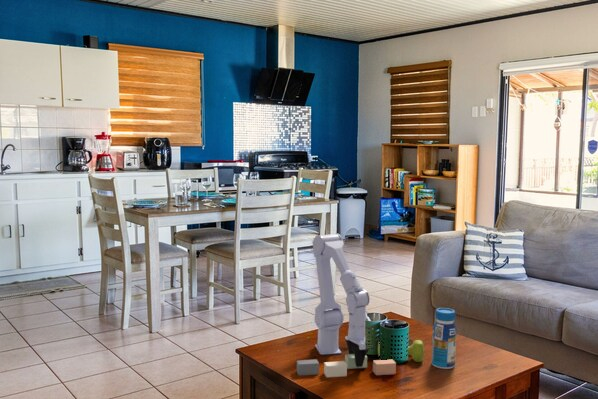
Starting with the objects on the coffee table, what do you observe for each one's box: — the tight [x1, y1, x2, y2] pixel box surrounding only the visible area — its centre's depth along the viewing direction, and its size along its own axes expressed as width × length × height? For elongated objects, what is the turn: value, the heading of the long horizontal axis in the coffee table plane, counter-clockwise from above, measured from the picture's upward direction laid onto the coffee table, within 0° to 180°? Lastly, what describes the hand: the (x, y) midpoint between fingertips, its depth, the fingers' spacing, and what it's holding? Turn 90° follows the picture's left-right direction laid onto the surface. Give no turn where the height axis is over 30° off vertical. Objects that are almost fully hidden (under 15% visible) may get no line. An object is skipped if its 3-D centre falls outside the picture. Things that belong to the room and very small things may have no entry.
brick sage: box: [344, 353, 368, 370], centre depth 208 cm, size 4×7×4 cm, turn 101°
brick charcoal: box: [296, 358, 320, 376], centre depth 201 cm, size 4×7×4 cm, turn 101°
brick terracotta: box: [372, 358, 397, 376], centre depth 202 cm, size 4×7×4 cm, turn 101°
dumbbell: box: [377, 339, 425, 363], centre depth 215 cm, size 16×8×7 cm, turn 82°
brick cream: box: [323, 360, 348, 378], centre depth 200 cm, size 4×7×4 cm, turn 101°
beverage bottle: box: [431, 307, 458, 370], centre depth 209 cm, size 8×8×20 cm
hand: (356, 362), depth 208 cm, fingers open, 7 cm apart
